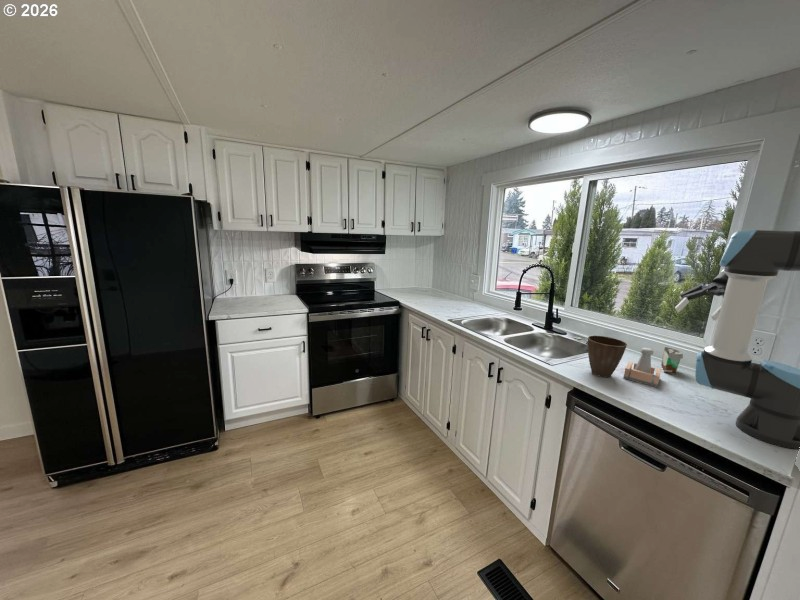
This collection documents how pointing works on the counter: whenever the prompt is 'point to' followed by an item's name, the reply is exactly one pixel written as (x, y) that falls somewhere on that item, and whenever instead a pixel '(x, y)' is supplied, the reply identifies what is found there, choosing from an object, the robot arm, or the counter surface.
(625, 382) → the counter surface
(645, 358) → the salt shaker
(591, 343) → the plant pot
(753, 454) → the counter surface
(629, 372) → the socket board
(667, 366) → the food container
